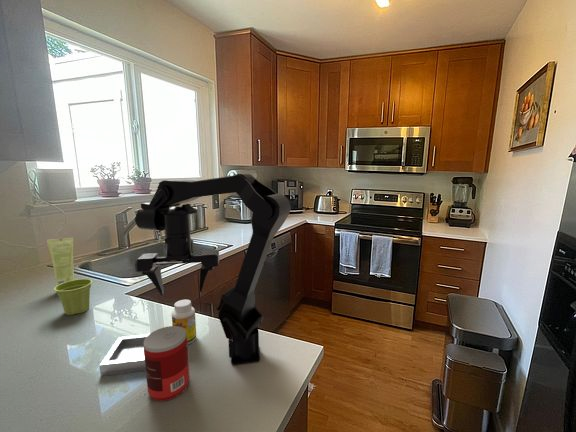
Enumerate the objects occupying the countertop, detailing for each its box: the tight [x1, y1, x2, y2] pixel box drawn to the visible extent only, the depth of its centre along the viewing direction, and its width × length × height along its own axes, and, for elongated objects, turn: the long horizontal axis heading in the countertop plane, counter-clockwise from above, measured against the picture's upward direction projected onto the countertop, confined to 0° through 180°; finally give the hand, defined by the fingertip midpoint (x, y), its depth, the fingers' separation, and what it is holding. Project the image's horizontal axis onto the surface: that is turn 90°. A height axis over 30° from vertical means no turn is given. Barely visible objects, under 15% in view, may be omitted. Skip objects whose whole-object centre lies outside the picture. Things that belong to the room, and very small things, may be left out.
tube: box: [46, 237, 75, 286], centre depth 102 cm, size 6×5×20 cm
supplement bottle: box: [171, 299, 197, 345], centre depth 72 cm, size 6×6×10 cm
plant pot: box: [53, 278, 93, 316], centre depth 87 cm, size 9×9×9 cm
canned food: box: [144, 325, 190, 402], centre depth 56 cm, size 8×8×11 cm
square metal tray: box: [99, 333, 150, 377], centre depth 66 cm, size 11×10×3 cm
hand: (181, 293), depth 70 cm, fingers open, 9 cm apart
